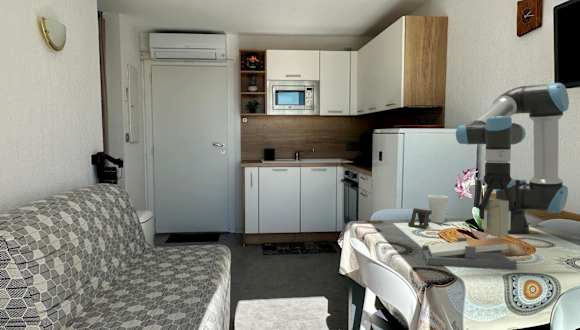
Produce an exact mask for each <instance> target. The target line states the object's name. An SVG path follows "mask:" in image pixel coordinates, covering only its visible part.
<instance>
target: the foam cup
mask: <svg viewBox="0 0 580 330" xmlns="http://www.w3.org/2000/svg"><path fill="white" fill-rule="evenodd" d="M448 199H449V196H447V195H442V194H441V195H440V194H430V195H428V196H427V201H428V208H429V209H428V210H431V211H432V214H431V215H429V219H430V222H431V223H437V224H442V223H444V222H445V218H446V211H447V205H448V201H449V200H448Z"/></svg>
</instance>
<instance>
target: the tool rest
mask: <svg viewBox="0 0 580 330" xmlns="http://www.w3.org/2000/svg"><path fill="white" fill-rule="evenodd" d="M506 243H507V244H508V249H503V250H502V254H503V255H504V256H525V255H527V251H528V249H527V247H525V245H524V246H523V245H522V244H521V245H520V244H517V243H511V242H506Z"/></svg>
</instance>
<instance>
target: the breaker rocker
mask: <svg viewBox="0 0 580 330" xmlns="http://www.w3.org/2000/svg"><path fill="white" fill-rule="evenodd" d="M507 243H508V242H506V241H505V240H504V239H503V238H502V237H496V236H494V237H488V238H480V239H471V240H467V241H462V242H457V241H456V242H455V241H454V242H446V243H438V244H430V245H428V244H427V245H428V249H429V251H430V253H431V255H432V257H441V256H449V255H458V254H465V246H475V247H476V251H475V253H476V252H485V251H494V250H503V249H508V244H507Z"/></svg>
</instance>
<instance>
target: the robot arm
mask: <svg viewBox="0 0 580 330" xmlns="http://www.w3.org/2000/svg"><path fill="white" fill-rule="evenodd" d="M568 94H569V93H568V91H567V88H566V85H564V84H563V83H561V82H552V83H551V82H548V83H542V84H532V85H531V84H530V85H522V86H518V87H514V88H512V89H510V90H508V91H505V92H504V93H502V94H500V95H499V96H498V97H496V99H494V101H493V102H492V105H491V106H489V108H487V109H485V111H483V113H481V114H480V115H479V116H478V117H476V119H474V120H473V121H472V122H471V123H469V124H460V125H459V126H457V128H456V130H455V138H456V141H457V142H458V143H459V144H460V145H485V152H484V153H485V155H484V156H485V157H484V160H485V161H486V162H485V163H484V176H483V177H481V178H475V179H474V183H475V190H474V197H473V198H474V199H473V207H475V208H476V209H478V211H479V212H478V216H479V217H478V218H479V219H480V220H481V228H482V229H483V230H484V229H487V210H485V207H486V205H487V202H488V200H489V199H490V197H491V195H492V193H493V192H494V190H495V199H500V200H506V201H509V209H508V234H511V235H512V234H513V235H514V234H516V235H521V234H522V235H523V234H524V235H525V234H529V233H530V226H529V223H528V219H527V217H526V210H529V211H535V212H545V213H554V214H556V213H561V212H562V211H563V210H564V208H565V207H566V204H567V201H568V196H569V188H568V186H566V185H564V184H563V180H562V179H561V178H560V177H559V121H560V119H561V118H562V117H563V116H564V112H566V111H568V110H569V106H570V100H569V99H570V97H569V95H568ZM517 114H528V116H529V119H531V120H532V122H533V177H532V178H531V179H529V183H527V180H526V179H514V178H512V177H511V163H510V162H511V156H512V155H511V152H512V145H513V146H514V145H516V144H520V143H521V142H522V141H524V139H525V138H526V129H525V128H524V126H522V124H519V123H516V122H512V121H513V120H512V116H513V115H517ZM484 183H485V184H486V188H485V191H484V194H483V196H482V199H481V195H482V190H483V189H482V188H483V187H482V186H483V184H484Z"/></svg>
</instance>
